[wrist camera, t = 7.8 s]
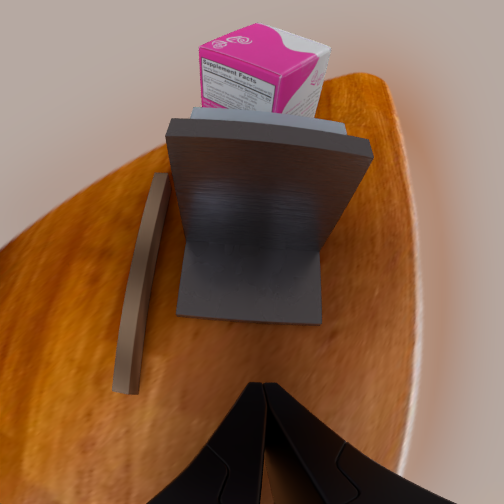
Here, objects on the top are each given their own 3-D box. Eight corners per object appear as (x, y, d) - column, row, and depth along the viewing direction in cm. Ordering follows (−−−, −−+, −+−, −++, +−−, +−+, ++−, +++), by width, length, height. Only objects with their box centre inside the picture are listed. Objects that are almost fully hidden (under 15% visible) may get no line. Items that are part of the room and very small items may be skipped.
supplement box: (246, 135, 26) (259, 19, 16) (302, 168, 25) (338, 49, 15) (202, 171, 24) (196, 42, 14) (261, 211, 23) (288, 77, 12)
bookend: (319, 325, 19) (396, 261, 10) (177, 316, 19) (134, 241, 10) (316, 240, 22) (368, 139, 13) (189, 230, 21) (171, 118, 12)
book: (309, 240, 22) (351, 154, 14) (196, 231, 21) (184, 136, 13) (307, 213, 23) (344, 123, 15) (201, 203, 22) (193, 107, 14)
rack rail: (138, 394, 16) (128, 394, 14) (123, 391, 16) (112, 391, 14) (171, 189, 23) (167, 173, 21) (159, 189, 23) (154, 172, 21)
